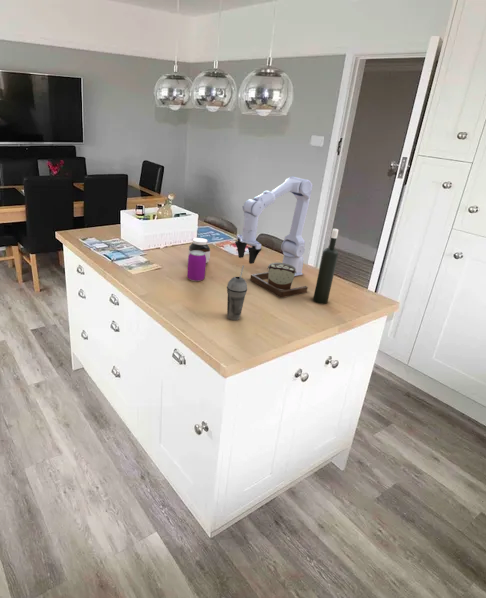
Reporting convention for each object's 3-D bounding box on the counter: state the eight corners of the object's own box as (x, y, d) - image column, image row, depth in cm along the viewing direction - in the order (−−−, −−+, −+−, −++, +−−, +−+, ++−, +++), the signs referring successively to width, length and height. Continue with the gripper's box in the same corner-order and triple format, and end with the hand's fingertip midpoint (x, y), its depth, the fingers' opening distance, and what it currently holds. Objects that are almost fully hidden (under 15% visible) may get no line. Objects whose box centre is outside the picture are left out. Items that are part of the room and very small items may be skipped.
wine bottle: (312, 302, 168) (327, 229, 155) (314, 296, 173) (328, 226, 160) (326, 305, 166) (343, 231, 154) (328, 299, 171) (344, 228, 158)
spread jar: (205, 260, 205) (207, 237, 200) (213, 268, 195) (215, 244, 190) (182, 261, 201) (183, 237, 196) (189, 269, 191) (190, 245, 186)
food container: (295, 286, 181) (298, 265, 177) (293, 292, 176) (297, 269, 172) (267, 281, 185) (270, 260, 180) (264, 286, 179) (267, 264, 175)
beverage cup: (222, 312, 153) (227, 261, 145) (241, 313, 154) (248, 262, 146) (224, 321, 147) (231, 268, 138) (245, 322, 147) (252, 269, 139)
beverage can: (188, 274, 185) (189, 248, 180) (205, 276, 185) (207, 250, 180) (185, 281, 178) (187, 254, 173) (203, 283, 178) (205, 256, 173)
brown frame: (275, 275, 192) (276, 270, 191) (306, 292, 177) (307, 286, 176) (250, 279, 185) (250, 274, 184) (280, 297, 170) (281, 292, 168)
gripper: (232, 225, 176) (228, 256, 182) (252, 234, 165) (248, 267, 171) (245, 224, 179) (241, 254, 185) (266, 233, 168) (262, 265, 174)
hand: (246, 260), depth 178 cm, fingers open, 7 cm apart
